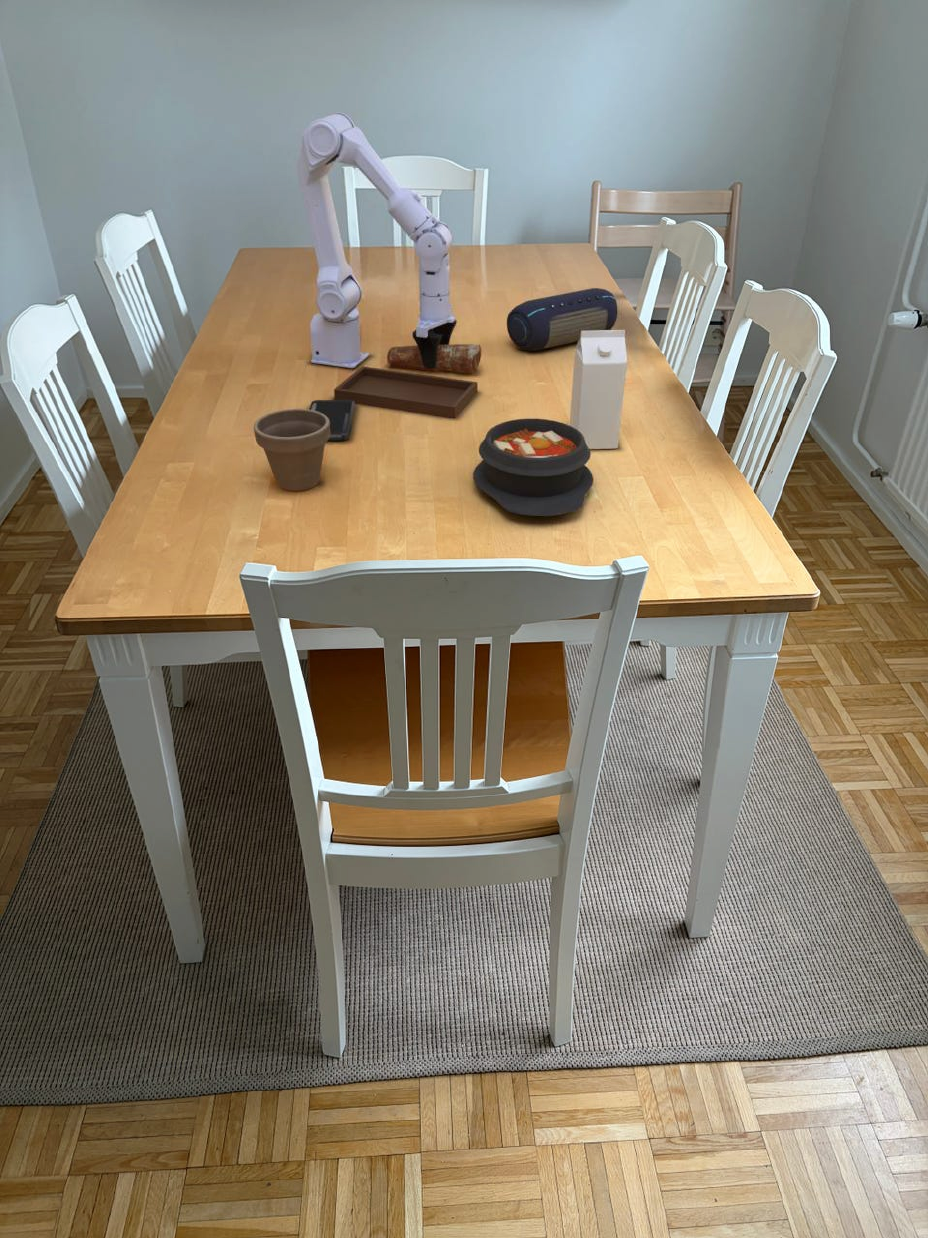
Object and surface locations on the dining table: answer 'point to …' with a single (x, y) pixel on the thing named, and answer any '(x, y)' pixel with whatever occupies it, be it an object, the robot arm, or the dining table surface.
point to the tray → (407, 391)
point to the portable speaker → (561, 318)
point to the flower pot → (294, 446)
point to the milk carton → (599, 387)
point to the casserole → (535, 467)
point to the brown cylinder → (438, 357)
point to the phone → (336, 416)
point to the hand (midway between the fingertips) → (435, 362)
